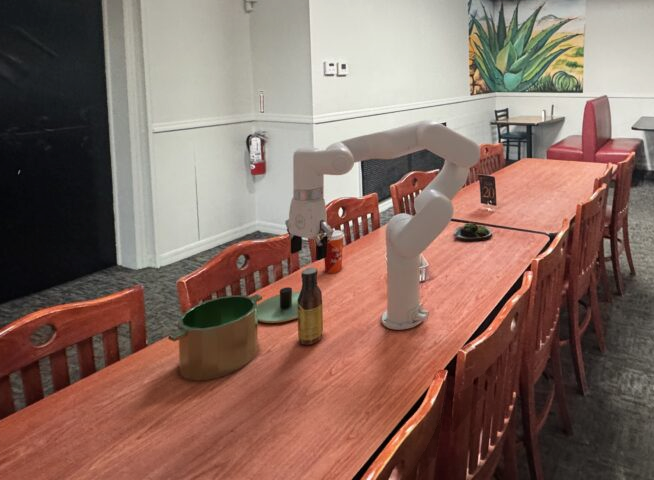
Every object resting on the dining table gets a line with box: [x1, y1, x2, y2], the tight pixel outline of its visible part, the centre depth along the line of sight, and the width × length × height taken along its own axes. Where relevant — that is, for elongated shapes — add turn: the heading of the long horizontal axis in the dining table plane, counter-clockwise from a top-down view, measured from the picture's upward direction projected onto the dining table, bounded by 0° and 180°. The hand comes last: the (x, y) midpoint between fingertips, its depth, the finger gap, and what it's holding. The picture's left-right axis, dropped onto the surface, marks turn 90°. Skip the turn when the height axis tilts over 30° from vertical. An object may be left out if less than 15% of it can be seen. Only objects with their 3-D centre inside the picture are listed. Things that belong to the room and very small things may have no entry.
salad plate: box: [453, 222, 493, 242], centre depth 207 cm, size 19×18×5 cm
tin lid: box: [257, 286, 301, 324], centre depth 139 cm, size 18×18×6 cm
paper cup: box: [321, 229, 345, 274], centre depth 167 cm, size 8×8×14 cm
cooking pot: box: [168, 293, 263, 381], centre depth 115 cm, size 17×22×12 cm
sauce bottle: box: [297, 266, 324, 346], centre depth 123 cm, size 7×6×20 cm
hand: (308, 255), depth 122 cm, fingers open, 9 cm apart
